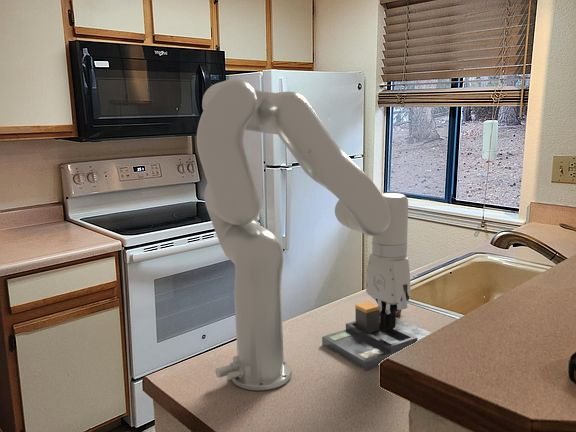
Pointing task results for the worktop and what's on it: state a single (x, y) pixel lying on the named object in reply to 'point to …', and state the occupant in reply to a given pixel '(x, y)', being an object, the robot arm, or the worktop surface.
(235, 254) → the robot arm
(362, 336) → the panel
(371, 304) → the toggle
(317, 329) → the worktop surface
